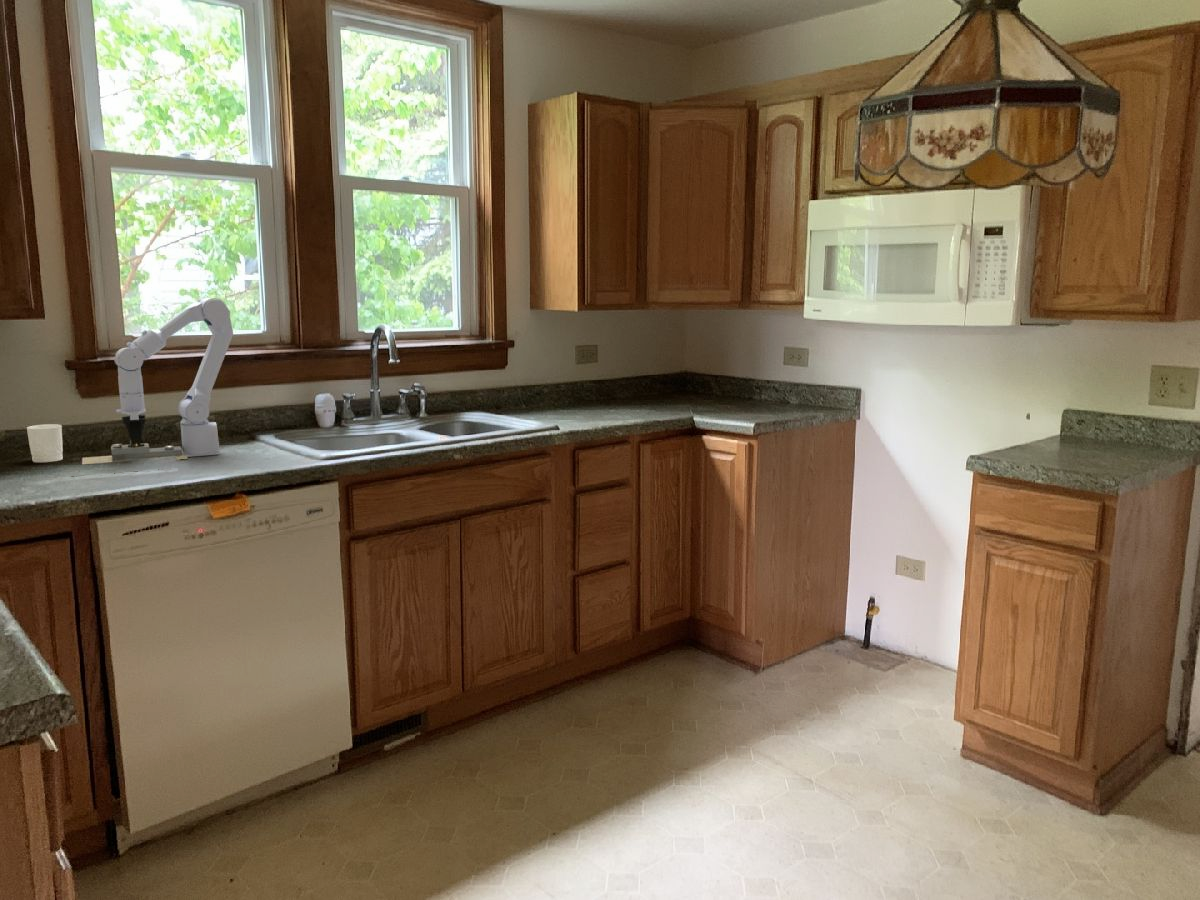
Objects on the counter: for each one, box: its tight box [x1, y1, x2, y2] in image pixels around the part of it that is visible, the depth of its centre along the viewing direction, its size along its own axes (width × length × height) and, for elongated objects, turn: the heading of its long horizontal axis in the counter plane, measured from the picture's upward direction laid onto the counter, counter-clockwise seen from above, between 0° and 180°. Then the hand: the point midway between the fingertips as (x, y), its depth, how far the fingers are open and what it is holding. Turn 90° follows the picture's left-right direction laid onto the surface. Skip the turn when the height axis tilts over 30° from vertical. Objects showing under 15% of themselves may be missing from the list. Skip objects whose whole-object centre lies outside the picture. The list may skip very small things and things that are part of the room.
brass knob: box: [129, 439, 142, 447], centre depth 244 cm, size 3×3×7 cm
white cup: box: [26, 423, 64, 463], centre depth 240 cm, size 8×8×10 cm
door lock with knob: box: [81, 442, 189, 465], centre depth 245 cm, size 25×10×5 cm, turn 119°
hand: (136, 443), depth 244 cm, fingers closed on brass knob, 3 cm apart
